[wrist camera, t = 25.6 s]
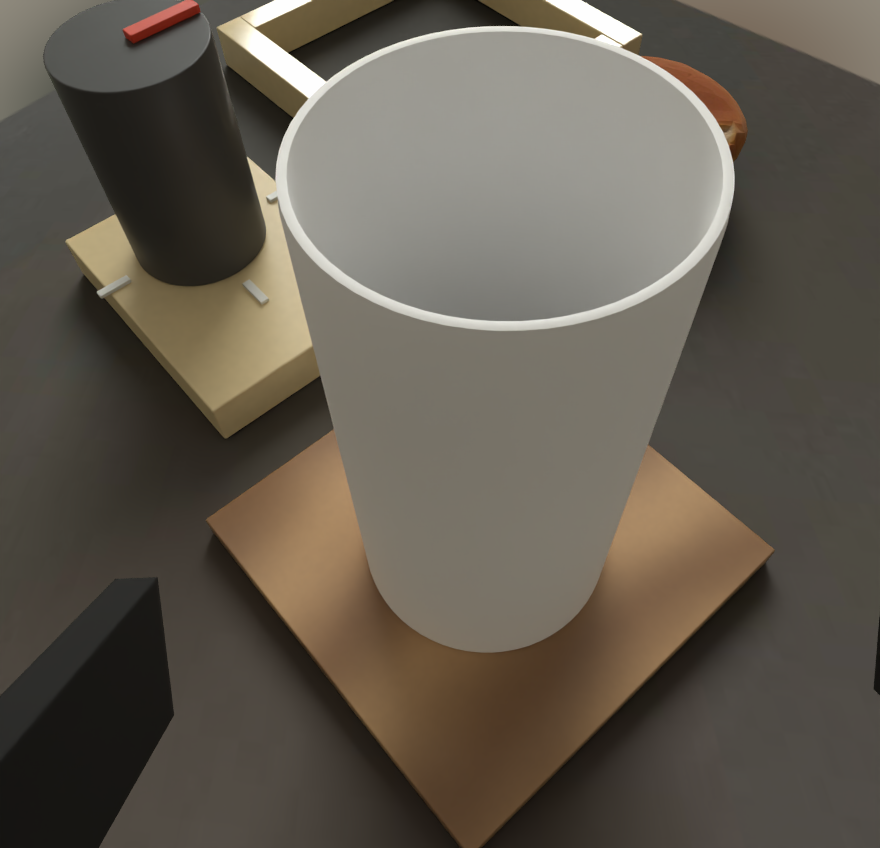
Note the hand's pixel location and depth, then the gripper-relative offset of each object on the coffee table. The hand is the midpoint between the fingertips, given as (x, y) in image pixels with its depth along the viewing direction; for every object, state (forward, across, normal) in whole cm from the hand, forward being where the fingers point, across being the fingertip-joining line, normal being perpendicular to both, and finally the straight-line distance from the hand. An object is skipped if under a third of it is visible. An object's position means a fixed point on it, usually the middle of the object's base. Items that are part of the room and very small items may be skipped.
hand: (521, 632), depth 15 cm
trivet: (+14, 0, -4) cm, 14 cm away
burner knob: (+22, -11, +8) cm, 26 cm away
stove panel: (+22, -10, +5) cm, 25 cm away
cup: (+13, 0, -3) cm, 13 cm away
